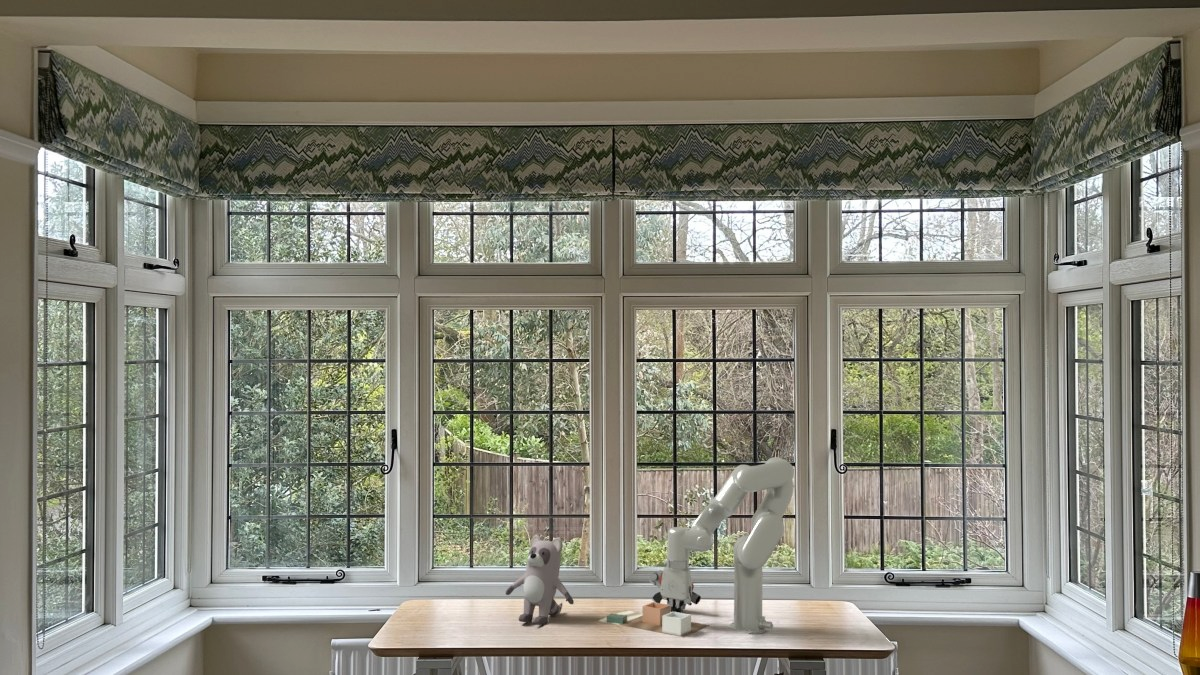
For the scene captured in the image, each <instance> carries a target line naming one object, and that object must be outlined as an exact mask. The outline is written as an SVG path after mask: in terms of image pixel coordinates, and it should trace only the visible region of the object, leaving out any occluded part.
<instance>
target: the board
mask: <svg viewBox="0 0 1200 675" xmlns="http://www.w3.org/2000/svg"><path fill="white" fill-rule="evenodd" d="M616 614H620V615H627V622H625V623H624V624H619V623H611V622H607V616H606V617H604V618H601V619H599V620H597V621H598V622H602V623H606V624H607V623H608V624H613V625H617V626H624V627H627V628H628V627H629V628H633V629H637V630H638V629H639V630H644V631H648V632H649V631H650V632H653V633H654V632H655V633H657V634H658V633H660V634H663V635H669V636H674V637H679V638H686V637H688V636H690V635H692V634H694V633H697V632H699V631H701V630H703V629H705V628H707V627H709V626H710V624H704V623H699V622H693V621H691V632H689V633H686V634H684V635H682V636H677V635H672V634H667V633H662V625H655V624H649V623H644V622H642V612H640V611H639V612H637V611H634V610H633V611H632V610H629V609H628V610H627V609H624V610H622V611H620V612H617V613H616Z"/></svg>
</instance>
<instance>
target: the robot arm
mask: <svg viewBox="0 0 1200 675" xmlns="http://www.w3.org/2000/svg"><path fill="white" fill-rule="evenodd" d="M794 477H795V469H794V466H793V465H792V464H791V463H790V462H789V461H787V460H785V459H783V458H782V457H778V456H774V457H770V458H769V459H767V460H766V462H765V463H763V464H758V465H751V466H750V465H748V464H739V465H738V466H736V467H735V468H734V469H733V471H732V472H731V474H729V476H728V478H727V479H726V480H725V482H724V483H723V485H722V486H721V488H720V489H719V490H718V492H717V494H715V496H714V498H713V499H711V501H710V502H709V503H708V504H707V506H705V508H704V509H703V510H702V511H701V513H700V514H699V515H698V516H697V518H696V520H695V521H694V522H693V524H692V525H691V527H690V529H688V528H687V527H681V526H674V527H673V526H672V527H670V528H669V529H668V530H667V547H666V549H667V550H666V558H664V559H663V563H665V566H663V570H662V571H663V575H662V581H661V588H660V592H661V595H662V598H663V599H662V600H664V601H666V602H667V601H668V603H669V604H670V607H671V612H679V613H682V612H681V607H682V606H683V605H684V604H686V605H688V604H689V603H692V602H691V596H692V582H693V581H692V573H691V572H692V571H691V569H690V568H689V567H690V551H693V552H699V553H705V552H708V551H709V550H711V548H712V547H713V545H714V537H713V533H714V532H715V530H716V529H717V528H718V527H719V526H720V524H722V522H723V521H724V520H726V519H727V518H729V517H731V516H733V514H735V513H736V512H737V510H738V509H739V508H740V506H741V504H742V502H744V500H745V498H746V497H747V495H749V493H754V492H760V491H765V490H766V493H765V495H764V496H763V499H762V501H761V502H760V503H759V506H758V508H757V509H756V510H755V512H754V514H753V515H752V518H751V521H750V527H751V529H752V530H751V531H750V533H749V535H748V534H747V535H746V534H745V535H742V536H740V537H739V538H737V540H735V543H734V545H733V551H732V552H733V555H732V556H733V567H734V569H733V570H734V573H733V574H734V578H733V579H734V583H733V586H734V587H733V592H734V594H733V596H734V597H733V598H734V599H733V622H731V623H730V624H729V627H730V628H731V629H734V630H738V631H743V632H748V635H759V634H763V633H766V632H767V630H768V629H769V630H772V629H773V627H774V624H773V622H772V621H766V616H764V615H763V584H764V583H763V580H764V579H763V567H764V566H765V565H766V564H767V562H768V561H769V559H770V557H772V554H773V552H774V551H775V549H776V547H777V545H778V543H779V542H780V540H781V538H782V536H783V534H784V526H785V525H784V521H783V519H782V518H783V517H784V515H785V513H786V511H787V509H788V508H789V505H790V503H791V500H792V498H793V495H794V481H793V479H794ZM676 600H677V601H676Z"/></svg>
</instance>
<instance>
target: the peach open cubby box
mask: <svg viewBox="0 0 1200 675" xmlns="http://www.w3.org/2000/svg"><path fill="white" fill-rule="evenodd" d="M641 610H642V611H641V613H642V622H644V623H649V624H655V625H662V616H663V615H666V614H668V613H670V605H667V603H661V602H660V603H655V602H654V601H652V602H649V603H647V604H644V605H642V609H641Z"/></svg>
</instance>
